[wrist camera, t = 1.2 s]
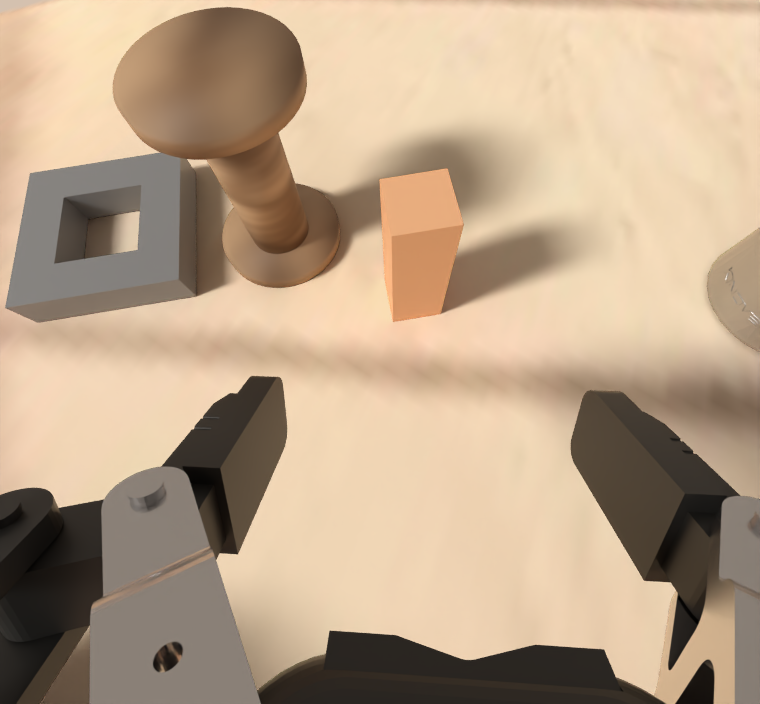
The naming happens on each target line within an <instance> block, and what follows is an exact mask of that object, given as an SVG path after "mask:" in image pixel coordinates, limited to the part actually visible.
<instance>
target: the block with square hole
mask: <svg viewBox="0 0 760 704" xmlns="http://www.w3.org/2000/svg"><path fill="white" fill-rule="evenodd" d="M133 211H140V218H139V235H138V250H135V251H129V252H123V253H117V254H111V255H105V256H98V257H92V258H86V259H84V253H85V244H86V235H87V226H88V219H90V218H96V217H102V216H108V215H115V214H121V213H127V212H133ZM195 296H196V173H195V171H194V170H193V168H192V167H191V165H190V164H189V162H188V160H187V159H184V158H178V157H174V156H170V155H167V154H164V153H155V154H149V155H143V156H136V157H130V158H124V159H117V160H111V161H105V162H98V163H92V164H86V165H79V166H73V167H67V168H60V169H54V170H48V171H42V172H35V173H30V176H29V182H28V187H27V193H26V198H25V204H24V209H23V215H22V220H21V225H20V231H19V236H18V242H17V247H16V253H15V258H14V263H13V269H12V274H11V280H10V285H9V291H8V296H7V301H6V307H5V308H7V309H9V310H11V311H13V312H15V313H18V314H20V315H22V316H24V317H26V318H29V319H31V320H33V321H35V322H37V323H38V322H44V321H50V320H56V319H62V318H68V317H74V316H80V315H86V314H92V313H98V312H104V311H110V310H116V309H122V308H128V307H134V306H140V305H147V304H153V303H159V302H165V301H171V300H177V299H183V298H189V297H195Z"/></svg>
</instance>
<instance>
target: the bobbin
mask: <svg viewBox="0 0 760 704" xmlns="http://www.w3.org/2000/svg"><path fill="white" fill-rule="evenodd" d="M306 87H307V75H306V71H305V66H304V62H303V57H302V53H301V49H300V45H299V43H298V41H297V39H296V37H295V36H294V34H293V33H292V32H291V31H290V30H289V29H288V28H287V27H286V26H285V25H284V24H283V23H281V22H280V21H278V20H277V19H275V18H273V17H271V16H269V15H266V14H264V13H261V12H258V11H254V10H249V9H243V8H231V7H225V8H211V9H204V10H199V11H194V12H190V13H187V14H183V15H181V16H178V17H175V18H173V19H170V20H168V21H166V22H164V23H162V24H160V25H158V26H157V27H155V28H153V29H152V30H150V31H149V32H147V33H146V34H145V35H143V36H142V37H141V38H140V39H139V40H137V41H136V42H135V43H134V44H133V45H132V46H131V47H130V49H129V50H128V51H127V52H126V54H125V55H124V56H123V58H122V59H121V61H120V63H119V65H118V67H117V70H116V72H115V75H114V80H113V96H114V101H115V103H116V105H117V108H118V110H119V111H120V113H121V114H122V116H123V117H124V118H125V120H126V121H127V122H128V124H129V125H130V126H131V128H132V129H133V131H134V132H135V133H136V135H137V136H138V137H139V138H140V139H141V140H142V141H143V142H144V143H146V144H147V145H148V146H150V147H151V148H153V149H155V150H157V151H159V152H161V153H164V154H167V155H170V156H174V157H178V158H184V159H194V160H199V159H206V160H207V162H208V163H209V165H210V167H211V169H212V170H213V172H214V174H215V175H216V177H217V179H218V181H219V182H220V184H221V186H222V188H223V189H224V191H225V193H226V194H227V196H228V198H229V200H230V201H231V203H232V205H233V206H234V208H233V209H232V210H231V212H230V213H229V215H228V217H227V219H226V221H225V224H224V227H223V232H222V242H223V248H224V251H225V253H226V256H227V258H228V259H229V260H230V262H231V263H232V265H233V266H234V267H235V269H236V270H237V271H238V272H239V273H240V274H241V275H242V276H243V277H244V278H246V279H247V280H249V281H251V282H253V283H255V284H258V285H261V286H265V287H272V288H282V287H290V286H295V285H298V284H301V283H304V282H306V281H308V280H310V279H312V278H313V277H315V276H317V275H318V274H319V273H320V272H322V271H323V270H324V269H325V268H326V267H327V266H328V265H329V263H330V262H331V261H332V259H333V257H334V256H335V254H336V252H337V249H338V246H339V242H340V227H339V223H338V218H337V214H336V212H335V209H334V207H333V206H332V204H331V203H330V201H329V200H328V199H327V198H326V197H325V196H324V195H323V194H321V193H320V192H318V191H317V190H315V189H313V188H311V187H308V186H305V185H301V184H295V182H294V179H293V176H292V173H291V170H290V167H289V164H288V161H287V158H286V155H285V152H284V149H283V146H282V143H281V140H280V137H279V134H278V132H279V131H281V130H282V129H283V128H284V127H285V126H286V125H287V124H288V123H289V122H290V121H291V120H292V119H293V117H294V116H295V114H296V113H297V111H298V110H299V108H300V106H301V104H302V102H303V100H304V96H305V93H306Z"/></svg>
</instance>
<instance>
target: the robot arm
mask: <svg viewBox="0 0 760 704" xmlns="http://www.w3.org/2000/svg"><path fill="white" fill-rule="evenodd" d="M707 289H708V296H709V300H710V302H711V305H712V307H713V310H714V312H715V313H716V315H717V316H718V318H719V319H720V321H721V322H722V324H723V325H724V326H725V327H726V328H727V329H728V330H729V331H730V332H731V333H732V334H733V335H734V336H735V337H737V338H738V339H739V340H740V341H742V342H743V343H744V344H746V345H748V346H749V347H751V348H753V349H755V350H757V351H758V352H760V228H758V229H757V230H755V231H754V232H753V233H751V234H750V235H748V236H747V237H746V238H744V239H743V240H741V241H740V242H739V243H737V244H736V245H734V246H733V247H732V248H730V249H729V250H727V251H726V252H725V253H723V254H722V255H721V256H719V257H718V259H717V260H716V261H715V262H714V263H713V265H712V267H711V269H710V272H709V274H708V282H707ZM286 438H287V420H286V410H285V400H284V391H283V383H282V380H281V378H280V377H264V376H251V377H250V378H249V379H248V380H247V382H246V383H245V384H244V386H243V387H242V388H241V390H240V391H239V392H238V393H237V394H234V393H230V394H228V395H227V396H225V397H223V398H222V399H220V400H219V401H217V402H215V403H214V404H213V405H212V406H211V407H210V409H209V410H208V411H207V412H206V413H205V415H204V416H203V419H200V421H199V422H198V423H197V424H196V425H195V428H194V430H193V429H192V430H191V431H190V433H189V434H188V435H187V436H186V438H185V439H184V440H183V441H182V442H181V444H180V445H179V446H178V447H177V448H176V450H175V451H174V452H173V453H172V454H171V456H170V457H169V458H168V459H167V460H166V462H165V463H164V464H163V465H162V466H161V467H156V468H151V469H147V470H144V471H141V472H138V473H136V474H134V475H132V476H130V477H128V478H126V479H125V480H123V481H122V482H120V483H119V484H117V485H116V486H115V487H114V488H113V489H112V490H111V491H110V492H109V493H108V494H107V496H106V497H105V499H104V500H100V501H94V502H89V503H83V504H78V505H72V506H67V507H62V508H58V506H57V504H56V502H55V499H54V497H53V495H52V494H51V493H50V492H49V491H47V490H45V489H42V488H26V489H19V490H15V491H11V492H8V493H5V494H2V495H0V704H39V703H40V702H41V700H42V699H43V697H44V696H45V694H46V692H47V691H48V689H49V688H50V686H51V685H52V683H53V681H54V680H55V678H56V677H57V675H58V674H59V672H60V671H61V669H62V667H63V666H64V664H65V663H66V661H67V660H68V658H69V656H70V655H71V653H72V652H73V650H74V649H75V647H76V646H77V644H78V642H79V641H80V639H81V638H82V636H83V635H84V633H85V631H86V630H87V628H88V627H89V625H90V699H89V704H760V499H757V498H752V497H747V496H740V495H739V494H738V493H737V492H736V491H735V490H734V489H733V488H732V487H731V486H730V485H729V484H728V483H726V482H725V481H724V480H723V479H722V478H721V477H720V476H719V475H718V474H717V473H716V472H715V471H714V470H713V469H712V468H711V467H710V466H709V465H707V464H706V463H705V462H704V461H703V460H702V459H701V458H700V457H699V456H698V455H697V454H693V450H692V449H691V448H690V447H688V446H687V445H686V444H685V443H684V442H681V441H680V438H679V437H678V436H677V435H676V434H675V433H674V432H673V431H672V430H671V429H670V428H668V427H667V426H666V425H665V424H664V423H662V422H660V421H659V420H657V419H655V418H654V417H652V416H650V415H648V414H647V413H645V412H642V411H641V410H640V409H639V408H638V407H637V406H636V405H635V404H634V403H633V402H632V401H631V400H630V399H629V398H628V397H627V396H626V395H625V394H624V393H622V392H618V391H593V390H590V391H587V392H586V393H585V395H584V397H583V399H582V403H581V406H580V410H579V414H578V417H577V421H576V424H575V428H574V432H573V435H572V439H571V455H572V459H573V461H574V464H575V465H576V467H577V469H578V470H579V472H580V474H581V475H582V477H583V479H584V481H585V482H586V484H587V486H588V487H589V489H590V491H591V492H592V494H593V496H594V497H595V499H596V501H597V502H598V504H599V506H600V507H601V509H602V511H603V512H604V514H605V516H606V517H607V519H608V521H609V522H610V524H611V526H612V528H613V529H614V531H615V533H616V534H617V536H618V538H619V539H620V541H621V543H622V544H623V546H624V548H625V549H626V551H627V553H628V554H629V556H630V558H631V559H632V561H633V563H634V564H635V566H636V568H637V569H638V571H639V573H640V575H641V576H642V578H643V580H644V581H658V582H671V583H672V585H673V586H674V588H675V589H676V591H675V593H674V595H673V597H672V599H671V602H670V607H669V614H668V620H667V627H666V633H665V640H664V646H663V653H662V659H661V666H660V672H659V678H658V683H657V687H656V691H655V694H654V696H653V695H651V694H650V693H648V692H646V691H644V690H643V689H641V688H639V687H637V686H635V685H632V684H630V683H628V682H626V681H624V680H622V679H619V678H616V677H615V674H614V672H613V670H612V667H611V665H610V663H609V660H608V658H607V656H606V653H605V651H604V650H602V649H588V648H573V647H559V646H544V645H533V646H528V647H524V648H520V649H516V650H512V651H508V652H504V653H500V654H496V655H492V656H488V657H484V658H480V659H476V660H463V659H460V658H457V657H454V656H451V655H449V654H446V653H443V652H440V651H437V650H435V649H432V648H429V647H426V646H424V645H421V644H418V643H415V642H413V641H410V640H407V639H404V638H402V637H399V636H396V635H384V634H370V633H355V632H341V631H330V632H329V638H328V645H327V651H326V654H324V655H320V656H316V657H313V658H310V659H308V660H305V661H303V662H300V663H298V664H296V665H294V666H292V667H290V668H288V669H286V670H285V671H283V672H281V673H280V674H278V675H277V676H275V677H274V678H273V679H271V680H270V681H268V682H267V683H265V684H264V685H263V686H262V687H261V688H260V689H259V690H256V687H255V683H254V680H253V677H252V674H251V671H250V667H249V664H248V661H247V658H246V655H245V651H244V648H243V645H242V642H241V639H240V635H239V632H238V629H237V626H236V623H235V620H234V616H233V613H232V610H231V607H230V604H229V600H228V597H227V594H226V591H225V588H224V584H223V581H222V578H221V575H220V572H219V568H218V565H217V562H216V559H217V557H218V555H219V553H227V554H238V553H239V551H240V548H241V546H242V544H243V541H244V539H245V537H246V535H247V532H248V530H249V528H250V525H251V523H252V521H253V518H254V516H255V514H256V512H257V509H258V507H259V505H260V502H261V500H262V498H263V496H264V493H265V491H266V489H267V486H268V484H269V482H270V479H271V477H272V475H273V473H274V470H275V468H276V466H277V463H278V461H279V459H280V457H281V454H282V452H283V450H284V447H285V443H286Z"/></svg>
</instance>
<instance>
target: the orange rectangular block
mask: <svg viewBox="0 0 760 704" xmlns="http://www.w3.org/2000/svg"><path fill="white" fill-rule="evenodd" d="M379 180H380V199H381V217H382V236H383V255H384V273H385V283H386V288H387V294H388V299H389V304H390V309H391V314H392V319H393V322H395V321H401V320H407V319H413V318H419V317H425V316H431V315H437V314H441V310H442V307H443V303H444V299H445V295H446V291H447V287H448V284H449V280H450V276H451V272H452V268H453V264H454V260H455V257H456V253H457V249H458V245H459V241H460V237H461V234H462V230H463V226H464V224H463V220H462V217H461V213H460V210H459V206H458V203H457V199H456V196H455V192H454V189H453V186H452V182H451V179H450V175H449V172H448V168H446V169H440V170H433V171H427V172H421V173H415V174H409V175H402V176H396V177H390V178H384V179H379Z"/></svg>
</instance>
